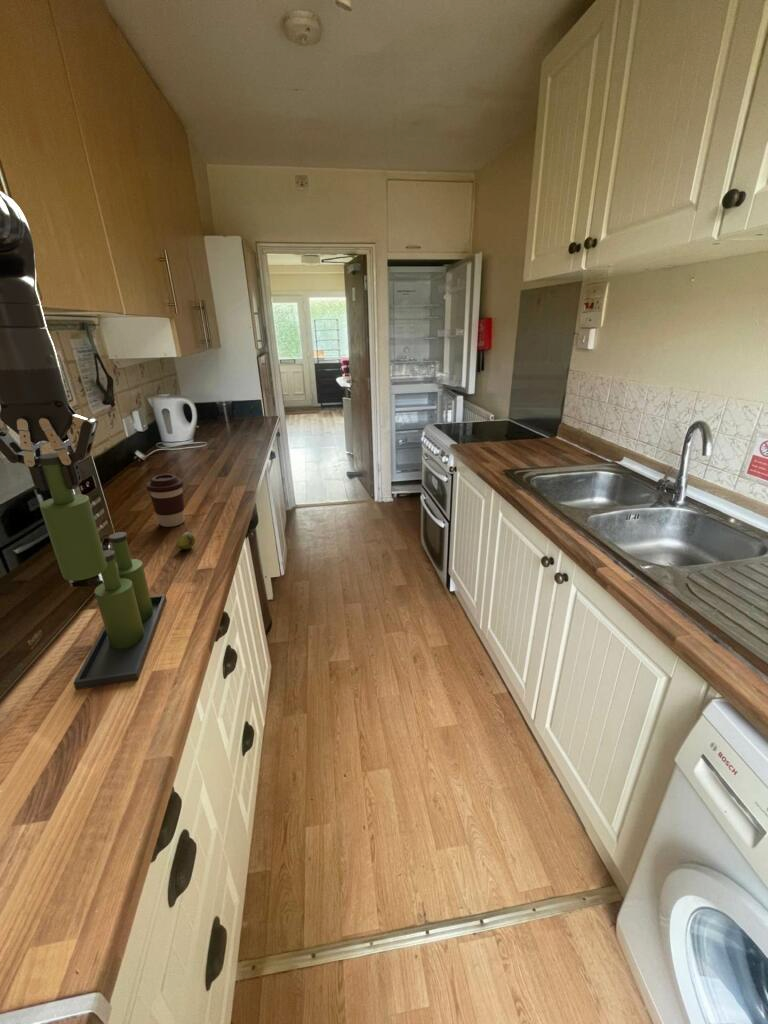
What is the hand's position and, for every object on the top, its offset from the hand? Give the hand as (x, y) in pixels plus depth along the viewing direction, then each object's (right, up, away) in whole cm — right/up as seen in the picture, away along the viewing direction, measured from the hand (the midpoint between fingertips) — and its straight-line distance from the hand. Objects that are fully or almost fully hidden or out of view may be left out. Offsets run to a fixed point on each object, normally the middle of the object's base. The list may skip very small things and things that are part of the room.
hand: (60, 487), depth 63 cm
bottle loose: (0, -13, +6) cm, 14 cm away
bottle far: (-5, -25, +28) cm, 38 cm away
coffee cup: (-19, -7, +72) cm, 74 cm away
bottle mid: (-3, -28, +21) cm, 36 cm away
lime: (-7, -14, +56) cm, 59 cm away
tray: (-3, -29, +22) cm, 36 cm away
